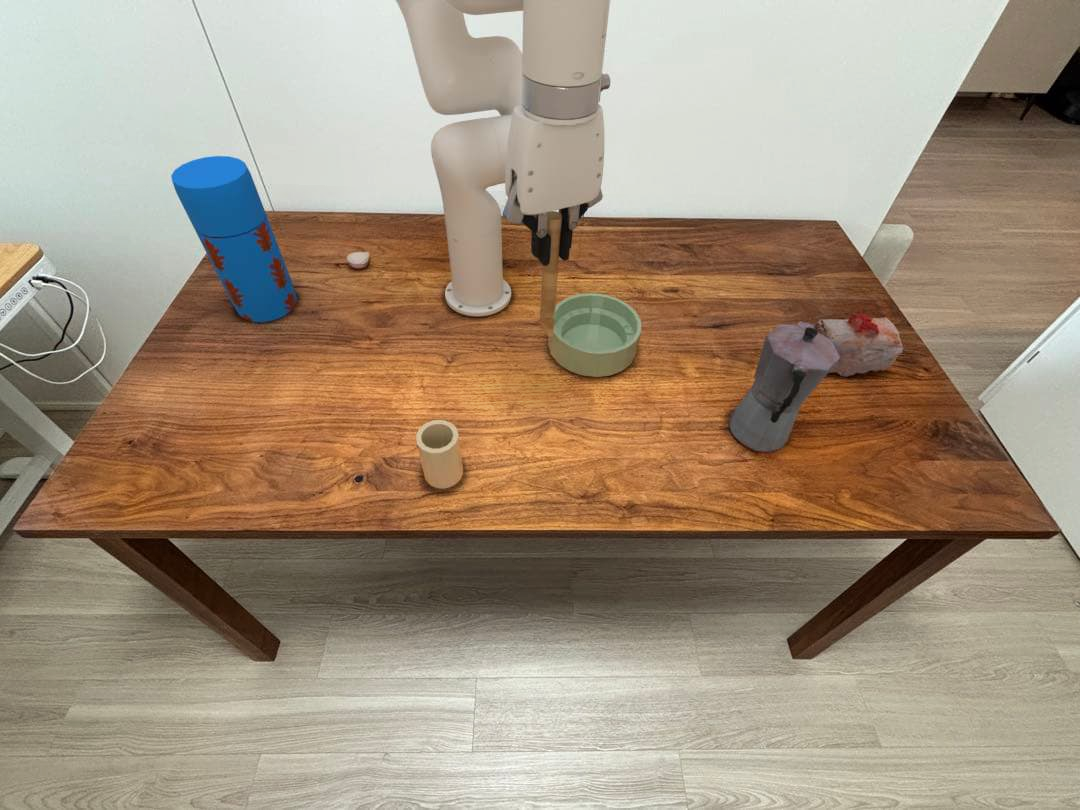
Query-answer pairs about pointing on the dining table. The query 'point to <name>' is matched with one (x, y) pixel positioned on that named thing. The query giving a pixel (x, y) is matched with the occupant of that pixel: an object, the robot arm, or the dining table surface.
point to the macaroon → (358, 259)
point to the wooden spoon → (550, 275)
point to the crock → (440, 453)
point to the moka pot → (782, 385)
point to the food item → (862, 343)
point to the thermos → (236, 235)
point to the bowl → (594, 334)
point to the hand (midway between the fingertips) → (550, 256)
